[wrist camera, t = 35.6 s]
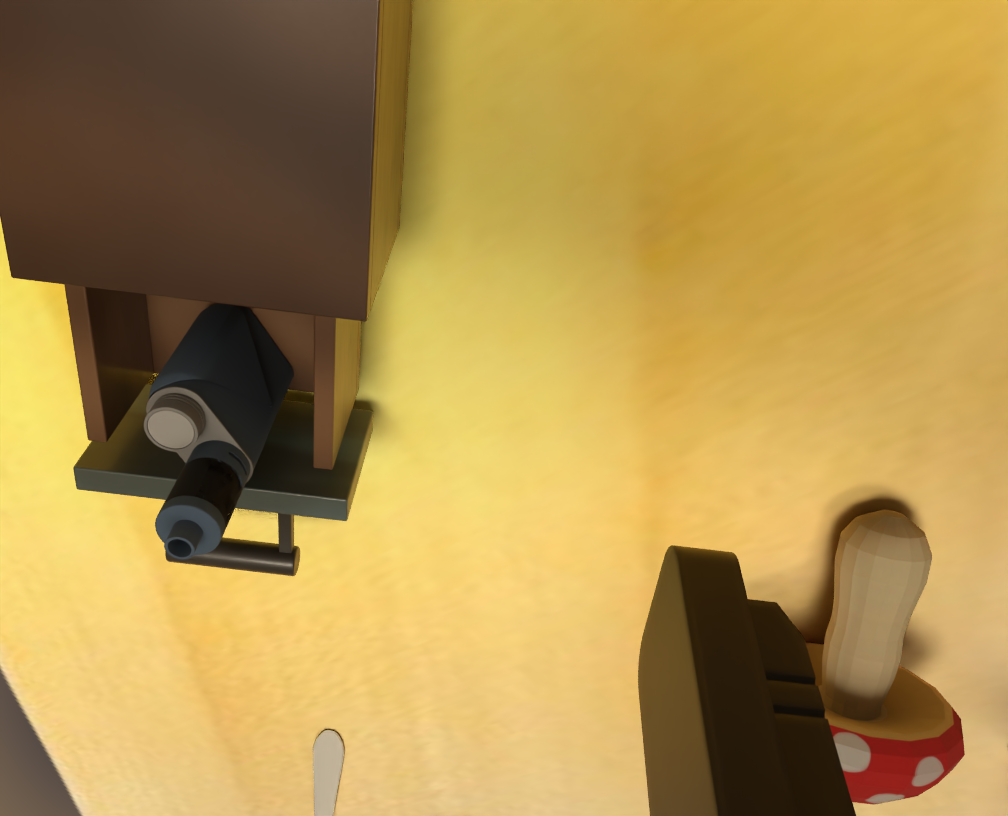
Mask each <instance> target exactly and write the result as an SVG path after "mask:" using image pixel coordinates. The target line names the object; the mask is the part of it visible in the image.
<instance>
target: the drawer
mask: <svg viewBox="0 0 1008 816" xmlns="http://www.w3.org/2000/svg"><path fill="white" fill-rule="evenodd" d="M65 291H66V297H67V304H68V310H69V317H70V323H71V330H72V337H73V343H74V350H75V356H76V363H77V370H78V376H79V383H80V389H81V396H82V402H83V409H84V416H85V422H86V429H87V435H88V440H91V441H92V442H91V443H90V445H89V446H88V447H87V449H86V450H85V452H84V453H83V454H82V456H81V457H80V459H79V460H78V462H77V463H76V464H75V466H74V475H75V481H76V487H77V489H79V490H88V491H96V492H105V493H113V494H121V495H130V496H138V497H147V498H155V499H164V500H166V499H167V497H168V495H169V493H170V492H171V490H172V488H173V486H174V484H175V482H176V480H177V479H178V477H179V475H180V473H181V471H182V469H183V468H184V466H185V464H186V463H185V462H184V460H183V459H182V458H181V457H180V456H179V454H178V453H177V452H173V451H168V450H165V449H162V448H160V447H158V446H157V445H155V444H154V443H153V442H152V441H151V440H150V439H149V438H148V436H147V435H146V433H145V430H144V420H145V417H146V416H147V411H146V407H147V403H148V401H149V394H150V390H151V386H152V384H147V382H148V381H149V379H150V378H151V376H152V375H153V373H158V374H159V373H160V372H161V370H162V369H163V367H164V366H165V364H166V363H167V361H168V360H169V358H170V357H171V355H172V354H173V352H174V351H175V349H176V348H177V346H178V345H179V343H180V342H181V340H182V339H183V337H184V336H185V334H186V333H187V331H188V330H189V328H190V327H191V325H192V324H193V322H194V321H195V319H196V318H197V317H198V315H199V314H200V313H201V312H202V311H203V310H205V309H206V308H208V307H209V306H211V305H214V304H217V303H212V302H204V301H196V300H188V299H180V298H172V297H164V296H156V295H148V294H140V293H132V292H124V291H116V290H107V289H99V288H91V287H83V286H75V285H67V284H65ZM248 308H249V309H250V310H251V311H252V313H253V314H254V315H255V317H256V318H257V320H258V321H259V322H260V324H261V325H262V327H263V328H264V329H265V331H266V332H267V333H268V335H269V336H270V338H271V339H272V340H273V342H274V343H275V345H276V346H277V347H278V349H279V350H280V351H281V353H282V354H283V356H284V357H285V358H286V360H287V361H288V363H289V364H290V365H291V367H292V369H293V374H294V376H293V379H292V381H291V383H290V386H289V388H288V389H289V390H298V391H306V392H314V404H311V403H303V402H295V401H286V400H283V401H282V404H281V406H280V408H279V411H278V413H277V415H276V417H275V420H274V422H273V424H272V427H271V429H270V431H269V433H268V436H267V439H266V442H265V444H264V447H263V449H262V452H261V454H260V456H259V459H258V461H257V463H256V465H255V468H254V470H253V474H252V476H251V478H250V480H249V481H248V482H247V483H246V484H245V486H244V488H243V491H242V493H241V495H240V497H239V500H238V502H237V504H236V507H235V508H240V509H248V510H256V511H265V512H273V513H278V527H279V544H274V543H265V542H257V541H248V540H240V539H231V538H223V537H222V538H221V541H220V543H219V545H218V546H217V547H216V548H215V549H214V550H213V551H211V552H209V553H206V554H202V555H193V556H192V557H191V558H189V559H185V560H181V559H176V558H174V557H172V556H170V555H169V554H168V553H167V552H166V559H167V561H169V562H176V563H185V564H194V565H202V566H211V567H219V568H228V569H236V570H245V571H253V572H262V573H271V574H279V575H288V576H295V575H296V573H297V570H298V566H299V560H300V548H299V547H298V546H294V515H299V516H307V517H315V518H324V519H332V520H341V521H347V519H348V516H349V512H350V509H351V505H352V501H353V498H354V494H355V491H356V487H357V484H358V480H359V477H360V473H361V470H362V466H363V462H364V459H365V455H366V452H367V448H368V445H369V441H370V438H371V434H372V431H373V411H368V410H360V409H352V408H353V405H354V402H355V398H356V395H357V392H358V389H359V369H360V343H361V321H357V320H349V319H341V318H333V317H325V316H317V315H309V314H301V313H293V312H285V311H277V310H269V309H261V308H252V307H248Z"/></svg>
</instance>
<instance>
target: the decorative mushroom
mask: <svg viewBox="0 0 1008 816" xmlns="http://www.w3.org/2000/svg"><path fill="white" fill-rule="evenodd" d="M931 560H932V553H931V550H930V547H929V544H928V542H927V539H926V536H925V533H924V532H923V531H922V530H921V529H920V528H919V527H917V526H916V525H915V524H914V523H913V522H912V521H910V520H909V519H908V518H907V517H906V516H905V515H903V514H901V513H899V512H896V511H892V510H880V511H876V512H872V513H868V514H864V515H860V516H857V517H855V518H854V519H853V520H852V521H851V522H850V523H849V525H848V526H847V527H846V528H845V529H844V530H843V531H842V532H841V535H840V539H839V543H838V547H837V552H836V556H835V576H834V603H833V611H832V616H831V619H830V622H829V625H828V628H827V631H826V635H825V642H824V644H815V643H806V646H807V649H808V653H809V656H810V660H811V663H812V667H813V670H814V673H815V677H816V679H815V685H816V686H818V687H819V691H820V694H821V697H822V701H823V704H824V708H825V719H828V721H829V725H830V728H831V732H832V735H833V739H834V742H835V745H836V749H837V752H838V756H839V759H840V763H841V766H842V769H843V773H844V776H845V780H846V783H847V787H848V790H849V793H850V797H851V800H852V802H857V803H866V804H879V803H884V802H890V801H895V800H900V799H905V798H910V797H915V796H918V795H920V794H921V793H923V792H925V791H926V790H928V789H930V788H931V787H933V786H934V785H936V784H938V783H939V782H940V781H941V780H942V779H943V778H944V777H945V776H946V775H947V774H948V773H949V772H950V771H952V770H953V769H954V767H955V766H956V765H957V764H958V762H959V761H960V760H961V759H962V757H963V756H964V755H965V754H964V743H963V733H962V725H961V719H960V717H959V716H958V715H957V713H956V712H955V711H954V709H953V708H952V707H951V705H950V704H949V703H948V702H947V701H946V700H945V699H944V697H943V696H942V695H941V694H940V693H939V692H938V690H937V689H936V688H935V687H933V686H931V685H930V684H928V683H927V682H925V681H924V680H922V679H921V678H919V677H918V676H916V675H915V674H913V673H912V672H910V671H909V670H906V669H904V668H902V667H899V664H900V660H901V656H902V648H903V639H904V635H905V632H906V629H907V626H908V622H909V619H910V617H911V615H912V613H913V610H914V608H915V606H916V604H917V602H918V600H919V598H920V595H921V593H922V591H923V589H924V587H925V585H926V583H927V579H928V574H929V570H930V565H931Z"/></svg>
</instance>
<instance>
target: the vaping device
mask: <svg viewBox="0 0 1008 816" xmlns="http://www.w3.org/2000/svg"><path fill="white" fill-rule="evenodd" d="M293 376H294V374H293V369H292V367H291V365H290V364H289V363H288V361H287V360H286V358H285V357H284V356H283V354H282V353H281V351H280V350H279V349H278V347H277V346H276V345H275V343H274V342H273V340H272V339H271V338H270V336H269V335H268V333H267V332H266V331H265V329H264V328H263V327H262V325H261V324H260V322H259V321H258V320H257V318H256V317H255V315H254V314H253V313H252V311H251V310H250V309H249V308H248V307H244V306H236V305H228V304H220V303H217V304H214V305H211V306H209V307H208V308H206V309H205V310H203V311H202V312H201V313H200V314H199V315H198V317H197V318H196V319H195V321H194V322H193V324H192V325H191V327H190V328H189V330H188V331H187V333H186V334H185V336H184V337H183V339H182V340H181V342H180V343H179V345H178V346H177V348H176V349H175V351H174V352H173V354H172V355H171V357H170V358H169V360H168V361H167V363H166V364H165V366H164V367H163V369H162V370H161V372H160V373H159V375H158V376H157V378H156V379H155V381H154V382H153V384H152V386H151V390H150V394H149V401H148V403H147V407H146V411H147V416H146V417H145V420H144V430H145V433H146V435H147V436H148V438H149V439H150V440H151V441H152V442H153V443H154V444H155V445H157V446H158V447H160V448H162V449H165V450H168V451H173V452H177V453H178V454H179V456H180V457H181V458H182V459H183V460H184V462H185V463H186V464H185V466H184V468H183V469H182V471H181V473H180V475H179V477H178V479H177V480H176V482H175V484H174V486H173V488H172V490H171V492H170V493H169V495H168V497H167V499H166V501H165V503H164V505H163V507H162V508H161V510H160V512H159V514H158V516H157V518H156V522H155V527H156V531H157V534H158V536H159V537H160V539H161V540H162V541H163V542H164V543H165V544H164V547H165V550H166V552H167V553H168V554H169V555H170V556H172V557H174V558H176V559H181V560H185V559H189V558H191V557H192V556H193V555H202V554H206V553H209V552H211V551H213V550H214V549H215V548H216V547H217V546H218V545H219V543H220V541H221V538H222V536H223V534H224V532H225V529H226V527H227V525H228V523H229V520H230V518H231V516H232V513H233V511H234V509H235V507H236V504H237V502H238V500H239V497H240V495H241V493H242V491H243V488H244V486H245V484H246V483H247V482H248V481H249V480H250V478H251V476H252V474H253V470H254V468H255V465H256V463H257V461H258V459H259V456H260V454H261V452H262V449H263V447H264V444H265V442H266V439H267V436H268V433H269V431H270V429H271V427H272V424H273V422H274V420H275V417H276V415H277V413H278V411H279V408H280V406H281V404H282V401H283V399H284V397H285V395H286V392H287V390H288V388H289V386H290V383H291V381H292V379H293ZM228 514H229V515H228Z"/></svg>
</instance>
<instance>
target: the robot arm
mask: <svg viewBox="0 0 1008 816" xmlns="http://www.w3.org/2000/svg"><path fill="white" fill-rule="evenodd" d="M815 679H816V677H815V673H814V670H813V667H812V663H811V660H810V656H809V653H808V649H807V646H806V643H805V639H804V638H803V636H802V635H801V634H800V632H799V631H798V630H797V628H796V627H795V626H794V625H793V623H792V622H791V621H790V619H789V618H788V617H787V616H786V614H785V613H784V612H783V610H782V609H781V608H780V606H779V605H778V604H777V603H776V602H767V601H758V600H750V599H747V595H746V591H745V586H744V582H743V578H742V574H741V569H740V565H739V562H738V559H737V557H736V555H735V554H734V553H732V552H724V551H715V550H707V549H698V548H690V547H681V546H673V545H672V546H670V547H669V548H668V550H667V552H666V554H665V557H664V560H663V564H662V568H661V571H660V575H659V579H658V582H657V586H656V589H655V593H654V597H653V600H652V604H651V608H650V611H649V615H648V618H647V622H646V626H645V629H644V633H643V637H642V642H641V648H640V656H639V670H638V688H639V700H640V711H641V721H642V732H643V743H644V754H645V765H646V776H647V787H648V798H649V808H650V816H856V814H855V811H854V807H853V804H852V800H851V797H850V793H849V790H848V787H847V783H846V780H845V776H844V773H843V769H842V766H841V763H840V759H839V756H838V752H837V749H836V745H835V742H834V739H833V735H832V732H831V728H830V725H829V721H828V719H825V708H824V704H823V701H822V697H821V694H820V691H819V687H818V686H816V685H815Z"/></svg>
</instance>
